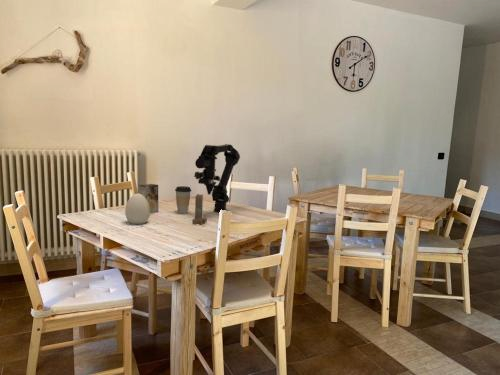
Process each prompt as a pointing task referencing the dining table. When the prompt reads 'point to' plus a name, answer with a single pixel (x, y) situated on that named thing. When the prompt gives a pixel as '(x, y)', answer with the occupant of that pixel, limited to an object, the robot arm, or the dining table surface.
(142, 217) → the decorative egg
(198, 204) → the stand
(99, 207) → the dining table surface
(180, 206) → the coffee cup
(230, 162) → the robot arm
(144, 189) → the coffee box
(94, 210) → the dining table surface
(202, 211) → the block
